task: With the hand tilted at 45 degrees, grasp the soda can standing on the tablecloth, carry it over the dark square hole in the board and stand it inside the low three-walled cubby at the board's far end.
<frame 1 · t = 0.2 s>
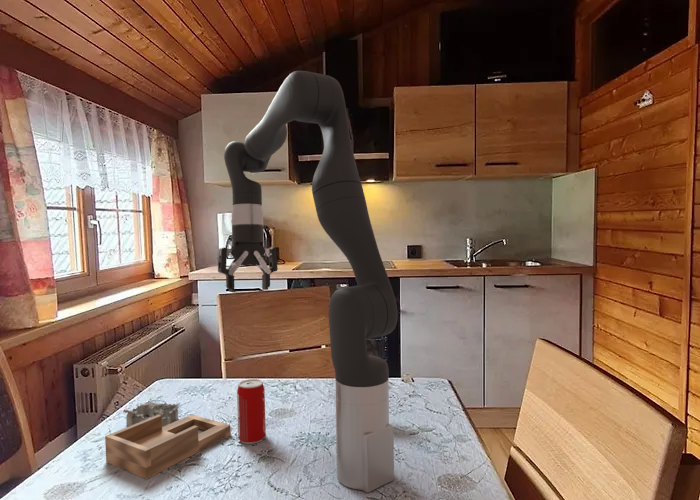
hand: (248, 290, 113), 28 cm above the table, tool pointing down, fingers open, 8 cm apart
grey piece: (153, 423, 106), on the table
soda can: (252, 439, 96), on the table
bay: (172, 447, 93), on the table
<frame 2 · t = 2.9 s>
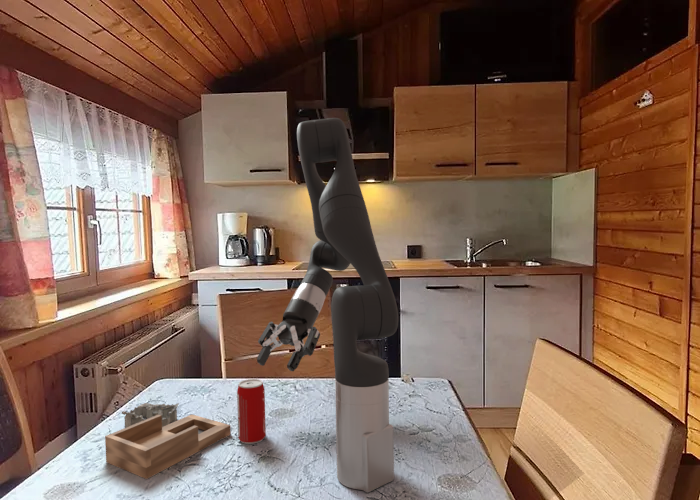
hand: (274, 366, 102), 13 cm above the table, tool tilted 45°, fingers open, 8 cm apart
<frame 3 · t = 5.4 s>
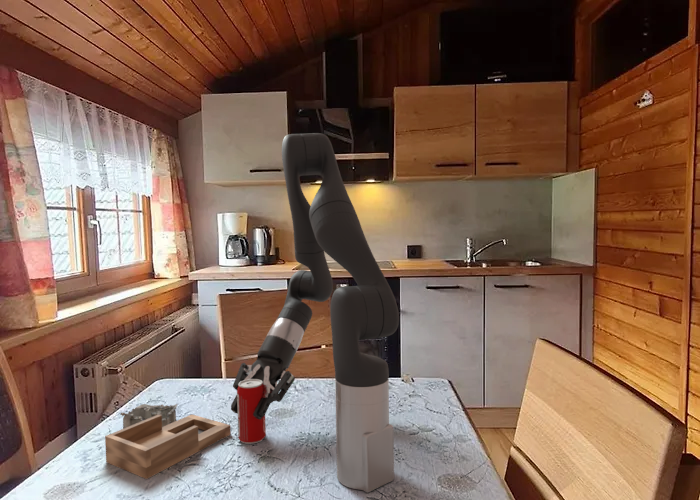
hand: (245, 414, 94), 6 cm above the table, tool tilted 45°, fingers closed on soda can, 5 cm apart
soda can: (252, 439, 96), on the table, touching gripper
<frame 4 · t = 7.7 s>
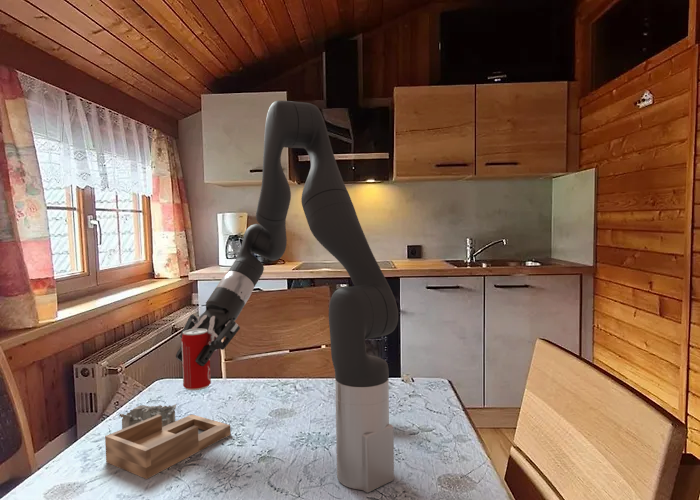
hand: (189, 361, 95), 16 cm above the table, tool tilted 45°, fingers closed on soda can, 5 cm apart
soda can: (197, 387, 97), point 10 cm above the table, touching gripper
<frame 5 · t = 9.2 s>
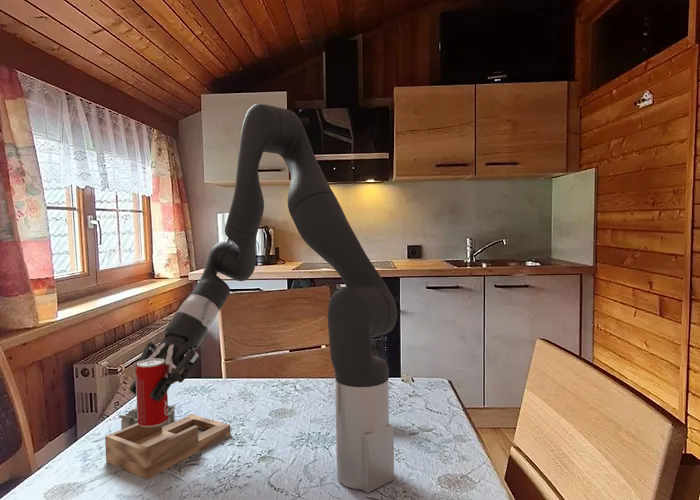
hand: (143, 395, 87), 12 cm above the table, tool tilted 45°, fingers closed on soda can, 5 cm apart
soda can: (153, 423, 89), point 6 cm above the table, touching gripper
when the fingers open (9 cm above the table, at t = 10.2 s): soda can drops 1 cm, resting on bay.
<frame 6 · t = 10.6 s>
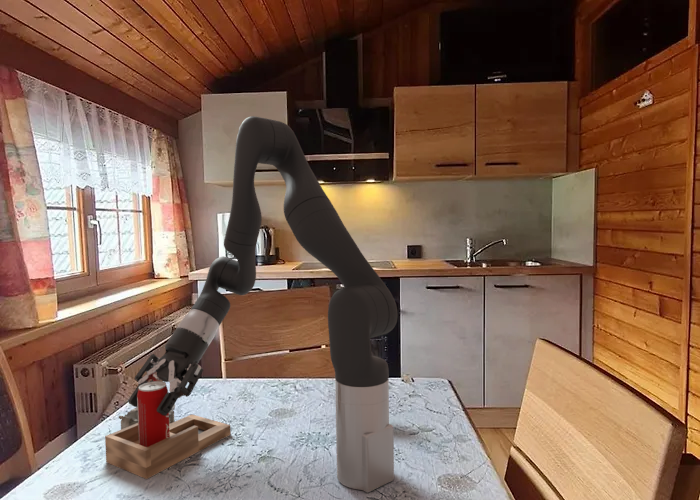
hand: (146, 409, 88), 10 cm above the table, tool tilted 45°, fingers open, 8 cm apart
soda can: (155, 446, 89), point 2 cm above the table, touching bay
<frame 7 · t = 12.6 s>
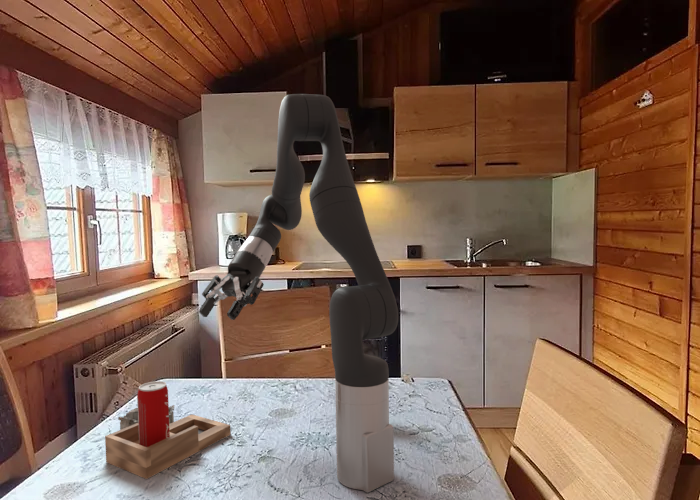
hand: (216, 316, 101), 25 cm above the table, tool tilted 45°, fingers open, 8 cm apart
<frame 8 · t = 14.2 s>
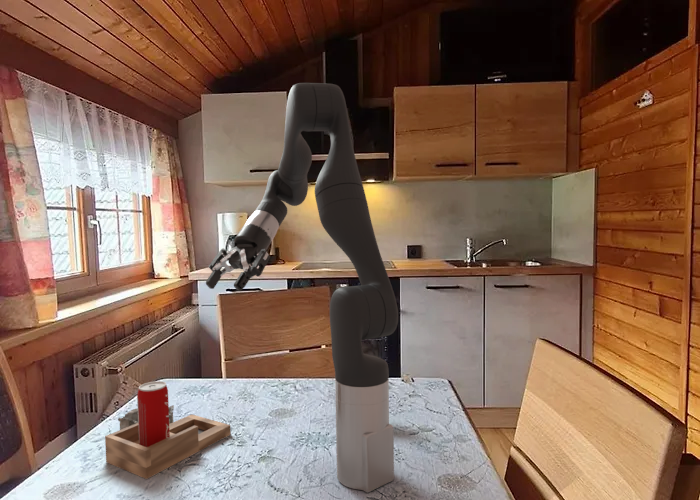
hand: (222, 287, 101), 31 cm above the table, tool tilted 45°, fingers open, 8 cm apart
at the end: soda can inside the target area (0.2 cm from its centre), point 1.8 cm above the table; soda can tilted 0°; the gripper is holding nothing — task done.
